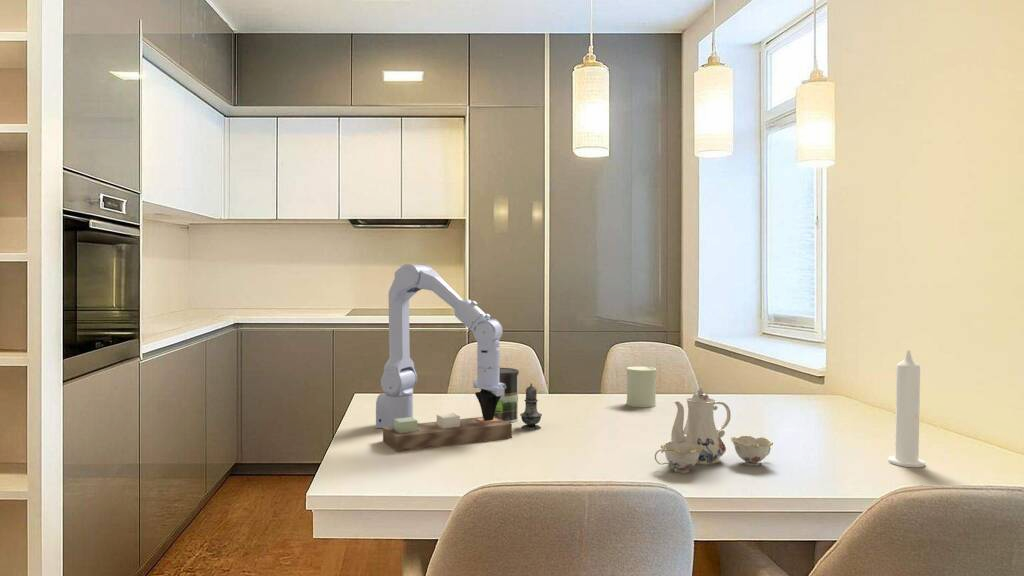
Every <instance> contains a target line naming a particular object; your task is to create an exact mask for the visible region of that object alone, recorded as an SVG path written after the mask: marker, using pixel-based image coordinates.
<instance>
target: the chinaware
mask: <svg viewBox="0 0 1024 576" xmlns="http://www.w3.org/2000/svg"><path fill="white" fill-rule="evenodd" d="M685 400H686V404H687V418H686V422H685V425H684V420H685V409H684V406H683V404H682V403H681V402H680V401H674V404H675V406H676V409H677V412H676V416H675V419H674V422H673V425H672V428H671V429H672V430H671V434H670V435H671V436H670V441H667V442H665V443H664V444H661V445H660V449H658V450H656V451H655V454H654V460H655V462H656V463H657V464H659V465H666V464H667V469H672V467H673V470H674V472H675V473H680V474H681V473H682V474H687V473H691V471H690V469H691V468H693V467H694V466H696V465H709V466H710V465H715V464H718V463H720V462H721V460H720V458H722V456H723V455H725V453H726V451H727V448H726V445H725V443H724V442H723V440H722V439H721V438H722V437H724V436H725V433H726V432H725V430H724V429H725V428H726V427H727V426H728V425H729V423H730V421H731V410H730V407H729V406H728V404H727V403H726V402H723V401H716V399H713V398H710V397H709V395H708V394H707V393H705V390H704V388H703V387H699V388H698V390H697V392H696V393H694V394H693V395H692V397H687V398H685ZM717 405H722V406H723V407H724V408H725V411H726V419H725V422H724V423H723V424H722V425H721V426H720V427H718V428H717V427H716V423H715V419H714V418H715V417H714V411H716V410H718V406H717ZM730 440H731V442H732V443H733V446H734V450H735V453H736V454H737V456H738V457H739V458H740V459H741V460H743V461H744V462H743V463H742V464H743V465H747V466H748V467H750V466H751V467H753V466H755V467H758V466H759V465H761V464H760V463H759V462H761V461H762V460H764V459H766V457H767V456H769V455H770V453H771V447H773V445H774V444H773V441H770V439H769V438H767V437H763V436H762V437H757V438H756V437H753V436H751V435H746V434H745V435H741V436H739V437H735V436H732V437H730ZM659 452H660V453H661V454H663V453H664V454H665V455H664V456H665V459H666V462H659V461H658V459H657V455H658V453H659Z"/></svg>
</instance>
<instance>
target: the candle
mask: <svg viewBox="0 0 1024 576" xmlns="http://www.w3.org/2000/svg"><path fill="white" fill-rule="evenodd" d="M906 350H907V351H906V353H905V357H904V358H903V360H901V361H900V362H898V363H897V364H896V368H895V369H896V370H895V373H896V375H895V376H896V377H895V378H896V380H895V381H896V382H895V429H894V430H895V431H894V436H895V437H894V438H895V441H894V443H895V444H894V455H891V456H888V458H887V459H888V460H887V461H888V462H889V463H890V464H892V465H895V466H899V467H902V468H903V467H905V468H916V469H918V468H923V467H925V466H926V461H925V460H924V459H921V458H919V454H920V453H919V451H920V447H919V445H920V443H919V442H920V404H921V403H920V401H921V400H920V399H921V398H920V394H921V393H920V392H921V366H920V364H918V363H917V362H916V361H915V360H914V359H913V358H912V354H911V350H909V349H906Z"/></svg>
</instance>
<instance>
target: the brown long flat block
mask: <svg viewBox="0 0 1024 576" xmlns="http://www.w3.org/2000/svg"><path fill="white" fill-rule="evenodd" d="M480 418H483V416H477V417H476V416H475V417H469V418H468V417H467V418H460V427H453V428H444V429H442V428H440V427H438V426H437V421H431V422H418V424H417V432H407V433H397V432H396V431H394V426H389V427H383V428H382V441H383V443H385V444H386V445H387V446H388V447H390V448H392V449H393V450H394V451H396V452H399V453H400V452H403V451H405V452H407V451H414V450H415V451H416V450H422V449H430V448H438V447H446V446H447V447H449V446H455V445H462V444H463V445H464V444H472V443H479V442H489V441H496V440H504V439H512V438H513V430H512V429H513V424H512V423H508V422H506V421H504V420H502V419H499V418H497V417H495V416H494V418H495V419H498V420H500V422H499V423H490V424H482V423H479V422H477V419H480Z"/></svg>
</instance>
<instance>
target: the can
mask: <svg viewBox="0 0 1024 576" xmlns="http://www.w3.org/2000/svg"><path fill="white" fill-rule="evenodd" d="M656 375H657V368H656V367H651V366H641V365H640V366H636V365H634V366H628V367H626V403H625V404H626V405H627V406H628V407H633V408H643V409H644V408H653V407H656V406H657V402H656V401H657V400H656V393H657V392H656V389H657V387H656V384H657V383H656Z"/></svg>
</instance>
